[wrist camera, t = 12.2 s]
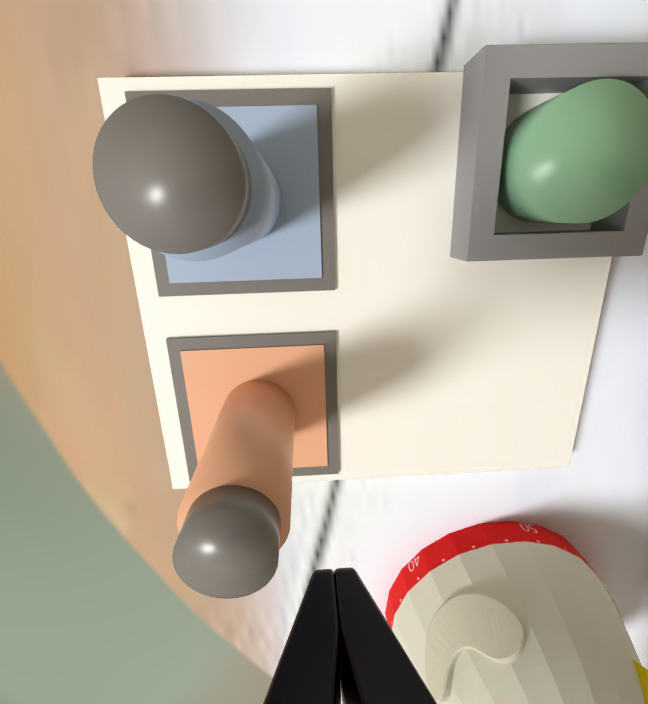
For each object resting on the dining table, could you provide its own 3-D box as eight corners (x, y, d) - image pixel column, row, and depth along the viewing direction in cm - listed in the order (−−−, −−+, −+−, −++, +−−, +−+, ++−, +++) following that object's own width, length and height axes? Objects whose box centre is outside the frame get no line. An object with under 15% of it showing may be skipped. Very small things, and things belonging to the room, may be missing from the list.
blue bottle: (279, 151, 16) (251, 76, 8) (283, 243, 17) (262, 266, 9) (190, 151, 16) (58, 74, 7) (200, 244, 17) (96, 269, 9)
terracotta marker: (293, 378, 19) (284, 504, 11) (296, 442, 20) (291, 602, 12) (219, 381, 19) (151, 512, 11) (227, 445, 20) (172, 609, 12)
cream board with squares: (632, 71, 17) (698, 42, 14) (558, 456, 23) (593, 490, 20) (108, 80, 16) (66, 50, 13) (178, 477, 22) (160, 515, 19)
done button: (608, 101, 16) (673, 77, 13) (586, 220, 18) (641, 221, 15) (497, 104, 16) (539, 79, 13) (485, 223, 17) (520, 225, 15)
